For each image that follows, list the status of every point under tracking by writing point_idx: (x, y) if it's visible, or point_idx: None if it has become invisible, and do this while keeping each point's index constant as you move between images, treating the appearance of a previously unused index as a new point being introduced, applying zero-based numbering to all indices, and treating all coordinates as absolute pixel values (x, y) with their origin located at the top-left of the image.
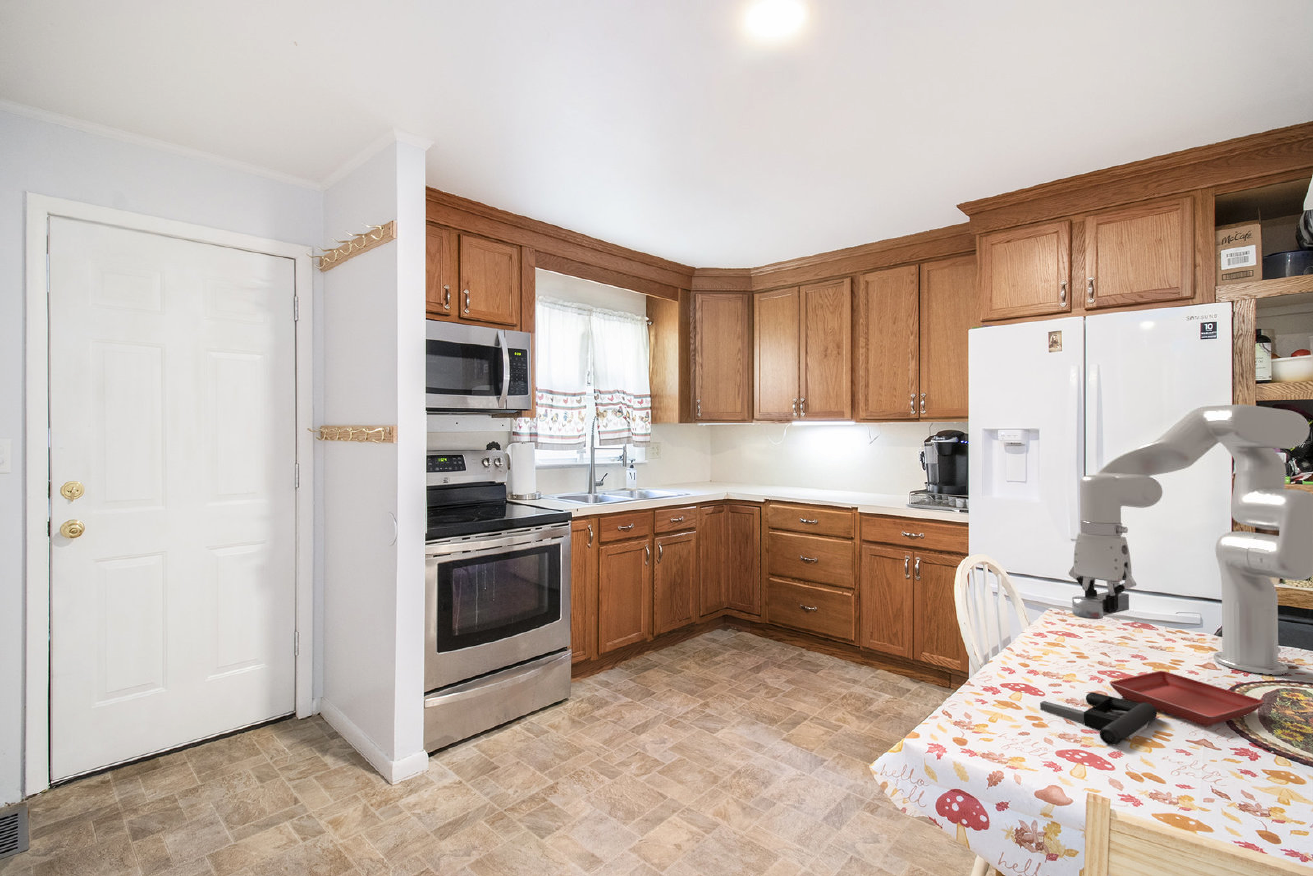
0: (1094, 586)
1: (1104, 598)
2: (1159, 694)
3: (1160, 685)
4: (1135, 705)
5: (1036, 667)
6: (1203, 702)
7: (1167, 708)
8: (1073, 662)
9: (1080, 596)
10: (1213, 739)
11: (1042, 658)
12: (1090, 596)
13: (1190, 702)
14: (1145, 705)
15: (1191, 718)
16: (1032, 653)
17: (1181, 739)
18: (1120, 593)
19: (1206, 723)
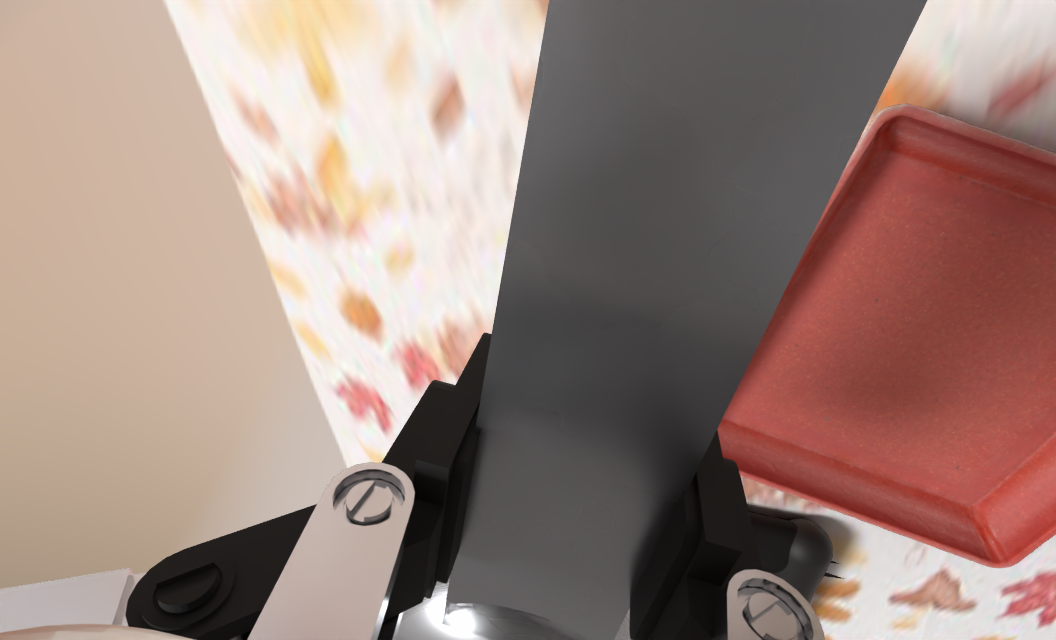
0: (407, 515)
1: (613, 587)
2: (843, 321)
3: (853, 189)
4: (775, 570)
5: (402, 312)
6: (1021, 296)
7: (866, 493)
8: (460, 115)
9: (416, 616)
10: (970, 562)
11: (355, 173)
12: (476, 577)
13: (961, 335)
14: (806, 584)
15: (934, 509)
16: (293, 131)
17: (879, 600)
18: (807, 611)
19: (977, 520)
